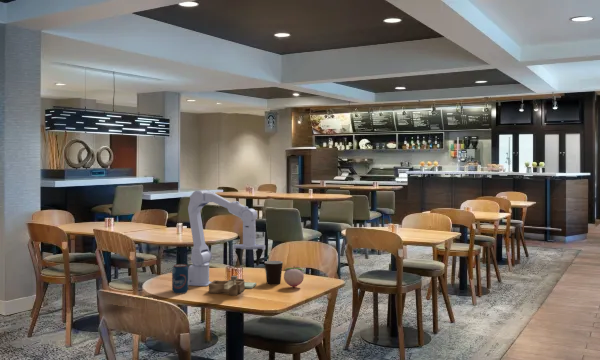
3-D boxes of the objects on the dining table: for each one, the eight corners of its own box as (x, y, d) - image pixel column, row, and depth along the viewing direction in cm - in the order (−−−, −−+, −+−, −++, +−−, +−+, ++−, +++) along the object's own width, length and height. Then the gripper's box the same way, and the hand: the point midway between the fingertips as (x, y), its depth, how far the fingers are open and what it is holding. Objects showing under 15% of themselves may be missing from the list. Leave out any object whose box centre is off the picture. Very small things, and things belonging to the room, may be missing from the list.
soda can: (172, 294, 249) (171, 266, 249) (172, 290, 256) (172, 263, 256) (188, 293, 251) (188, 266, 250) (188, 290, 258) (188, 263, 257)
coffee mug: (280, 285, 267) (280, 264, 267) (262, 284, 269) (262, 263, 268) (286, 280, 278) (286, 259, 278) (268, 279, 280) (268, 259, 280)
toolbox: (207, 294, 249) (207, 283, 249) (215, 288, 262) (215, 277, 262) (238, 295, 247) (238, 285, 247) (245, 289, 260) (245, 278, 260)
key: (222, 289, 237) (222, 284, 237) (229, 283, 247) (229, 279, 247) (229, 289, 237) (229, 284, 237) (235, 284, 247) (235, 279, 247)
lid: (222, 288, 263) (222, 277, 262) (227, 284, 271) (227, 274, 270) (252, 289, 260) (252, 278, 260) (256, 285, 268) (256, 275, 268)
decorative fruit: (285, 289, 258) (285, 267, 258) (282, 286, 266) (282, 264, 266) (305, 289, 260) (305, 267, 259) (302, 285, 268) (302, 263, 267)
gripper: (231, 236, 258) (231, 266, 259) (263, 236, 256) (263, 267, 257) (235, 234, 265) (235, 263, 266) (266, 234, 263) (266, 264, 264)
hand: (249, 265), depth 262 cm, fingers open, 7 cm apart
